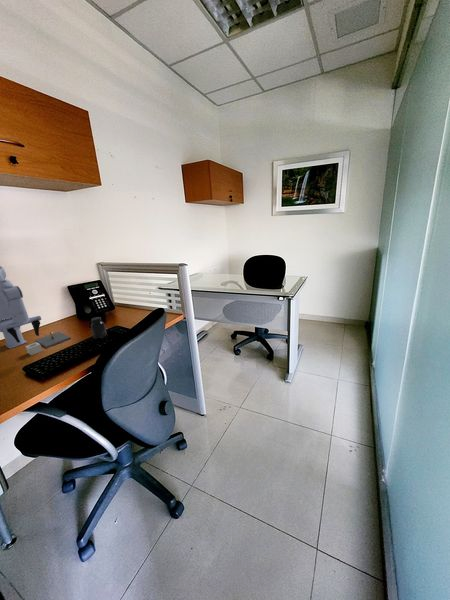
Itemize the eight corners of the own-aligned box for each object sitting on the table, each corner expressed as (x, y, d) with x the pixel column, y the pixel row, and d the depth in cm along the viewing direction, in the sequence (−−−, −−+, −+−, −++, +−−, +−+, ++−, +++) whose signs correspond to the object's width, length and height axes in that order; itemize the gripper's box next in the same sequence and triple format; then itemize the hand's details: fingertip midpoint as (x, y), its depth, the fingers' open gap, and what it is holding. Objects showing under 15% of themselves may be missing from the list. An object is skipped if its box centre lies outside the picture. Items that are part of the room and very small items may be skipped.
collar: (27, 353, 123) (25, 346, 121) (39, 348, 127) (36, 342, 125) (31, 355, 120) (28, 348, 119) (42, 350, 124) (40, 344, 123)
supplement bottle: (108, 338, 132) (103, 318, 129) (94, 342, 129) (88, 322, 125) (106, 334, 138) (102, 315, 134) (93, 337, 135) (88, 318, 131)
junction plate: (35, 341, 135) (33, 333, 134) (59, 333, 145) (56, 325, 143) (47, 348, 126) (44, 339, 125) (70, 338, 136) (68, 330, 134)
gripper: (1, 319, 103) (11, 347, 107) (40, 308, 114) (48, 334, 118) (-4, 317, 107) (7, 343, 111) (34, 306, 118) (43, 331, 122)
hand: (28, 338), depth 115 cm, fingers open, 7 cm apart
